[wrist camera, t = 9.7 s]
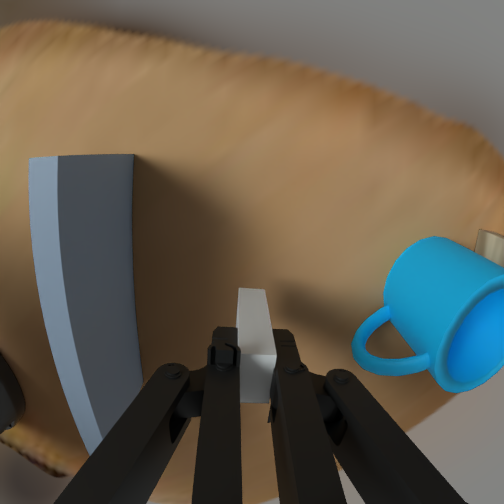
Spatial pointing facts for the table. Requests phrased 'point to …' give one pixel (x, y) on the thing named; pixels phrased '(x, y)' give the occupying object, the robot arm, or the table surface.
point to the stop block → (490, 246)
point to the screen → (87, 282)
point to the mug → (441, 315)
